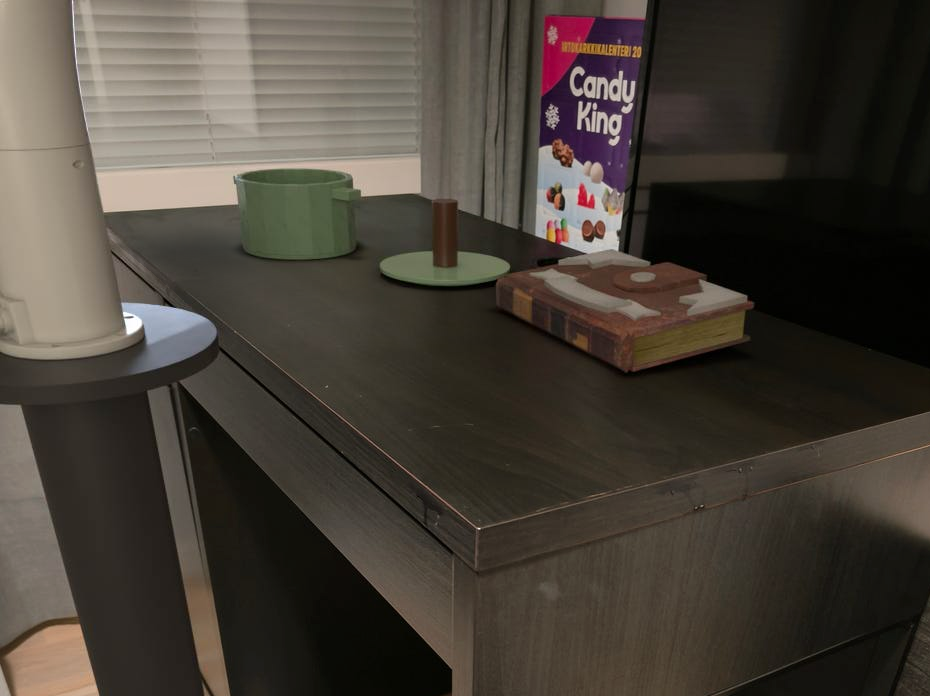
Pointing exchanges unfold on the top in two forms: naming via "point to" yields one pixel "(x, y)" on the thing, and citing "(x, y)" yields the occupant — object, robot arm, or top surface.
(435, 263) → the lid
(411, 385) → the top surface
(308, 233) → the pot
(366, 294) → the top surface
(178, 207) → the top surface
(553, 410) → the top surface
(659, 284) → the book
